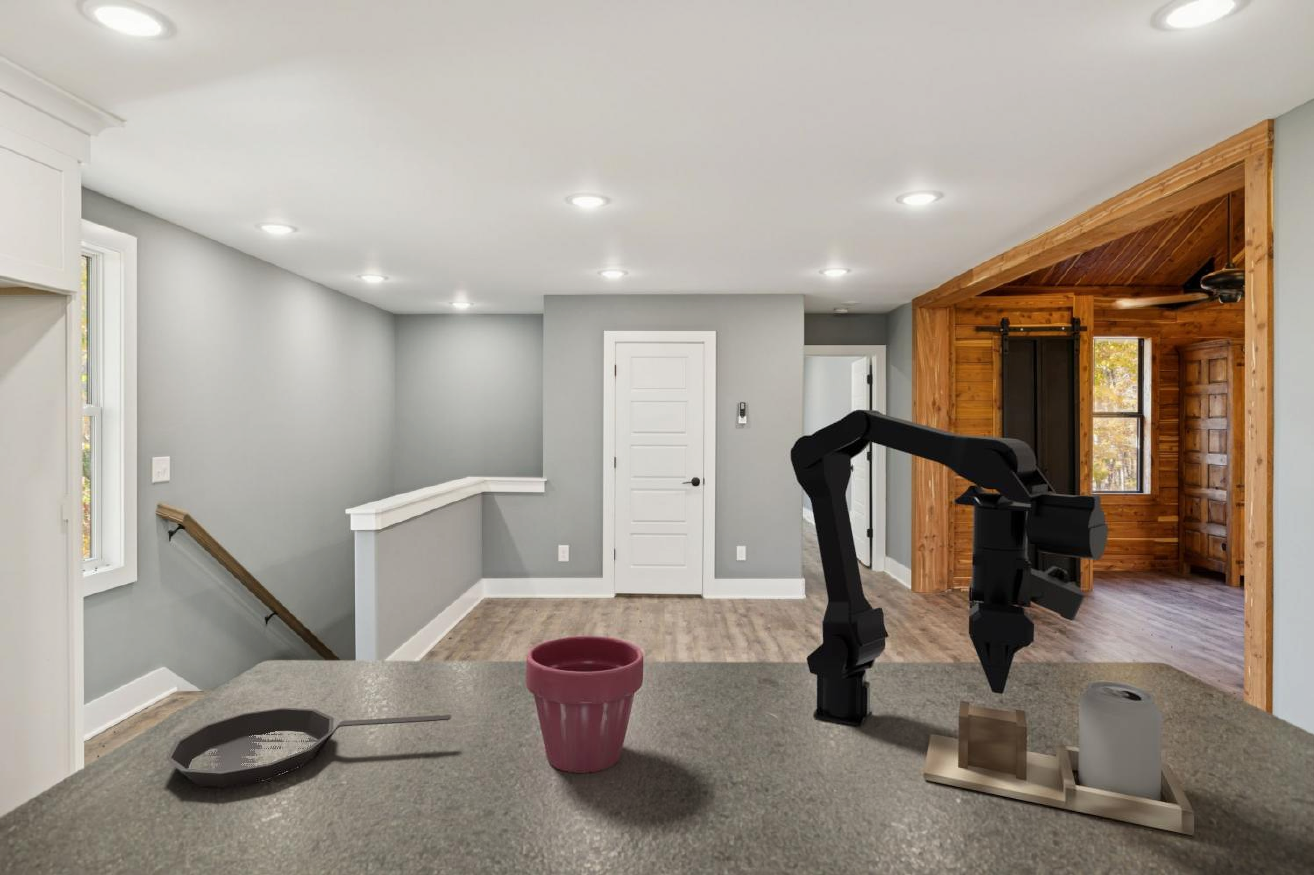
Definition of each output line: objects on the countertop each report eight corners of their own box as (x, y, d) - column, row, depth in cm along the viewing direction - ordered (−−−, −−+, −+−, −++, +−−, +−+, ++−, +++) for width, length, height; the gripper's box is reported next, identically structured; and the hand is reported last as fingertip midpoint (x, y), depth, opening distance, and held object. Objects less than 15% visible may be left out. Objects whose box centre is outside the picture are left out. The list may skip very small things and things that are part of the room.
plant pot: (661, 743, 89) (662, 643, 89) (608, 796, 76) (608, 679, 76) (566, 722, 95) (566, 629, 95) (501, 768, 82) (501, 660, 82)
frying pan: (211, 731, 92) (210, 702, 92) (460, 716, 97) (460, 690, 97) (130, 803, 75) (130, 769, 75) (439, 781, 80) (439, 749, 79)
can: (1175, 821, 72) (1177, 705, 72) (1094, 812, 73) (1096, 699, 73) (1140, 784, 79) (1142, 679, 79) (1067, 777, 81) (1069, 674, 80)
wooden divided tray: (923, 779, 80) (924, 720, 80) (930, 740, 90) (931, 687, 89) (1193, 835, 69) (1194, 767, 69) (1168, 783, 79) (1169, 724, 79)
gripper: (1093, 568, 70) (1088, 723, 70) (1068, 539, 87) (1065, 664, 87) (970, 558, 74) (967, 703, 75) (970, 532, 91) (967, 651, 92)
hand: (996, 678), depth 82 cm, fingers open, 9 cm apart
